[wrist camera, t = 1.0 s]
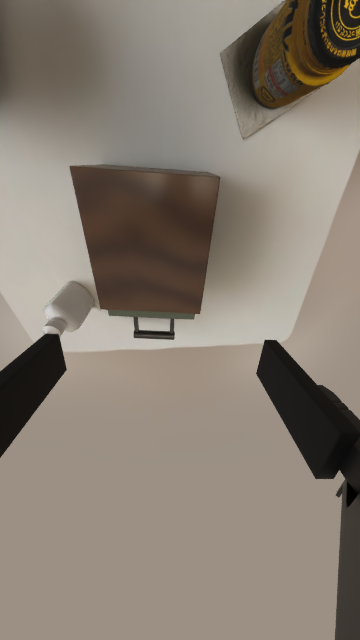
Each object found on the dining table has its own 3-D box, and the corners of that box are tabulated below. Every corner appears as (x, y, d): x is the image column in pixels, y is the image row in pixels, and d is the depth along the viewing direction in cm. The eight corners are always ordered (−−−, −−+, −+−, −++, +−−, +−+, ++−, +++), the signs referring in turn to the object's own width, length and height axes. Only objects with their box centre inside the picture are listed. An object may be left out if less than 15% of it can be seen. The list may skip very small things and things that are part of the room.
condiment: (319, 88, 22) (427, 32, 12) (242, 139, 24) (283, 125, 15) (309, -20, 18) (457, -226, 8) (219, 54, 20) (254, -39, 11)
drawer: (188, 322, 40) (189, 351, 34) (125, 319, 40) (115, 348, 34) (201, 198, 27) (208, 208, 21) (107, 191, 27) (86, 200, 21)
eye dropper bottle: (73, 307, 39) (40, 353, 30) (62, 280, 36) (20, 323, 26) (96, 306, 39) (69, 353, 29) (87, 279, 35) (54, 322, 26)
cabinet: (195, 281, 36) (200, 314, 28) (117, 277, 35) (100, 309, 28) (208, 172, 26) (220, 176, 19) (101, 164, 26) (68, 165, 18)
